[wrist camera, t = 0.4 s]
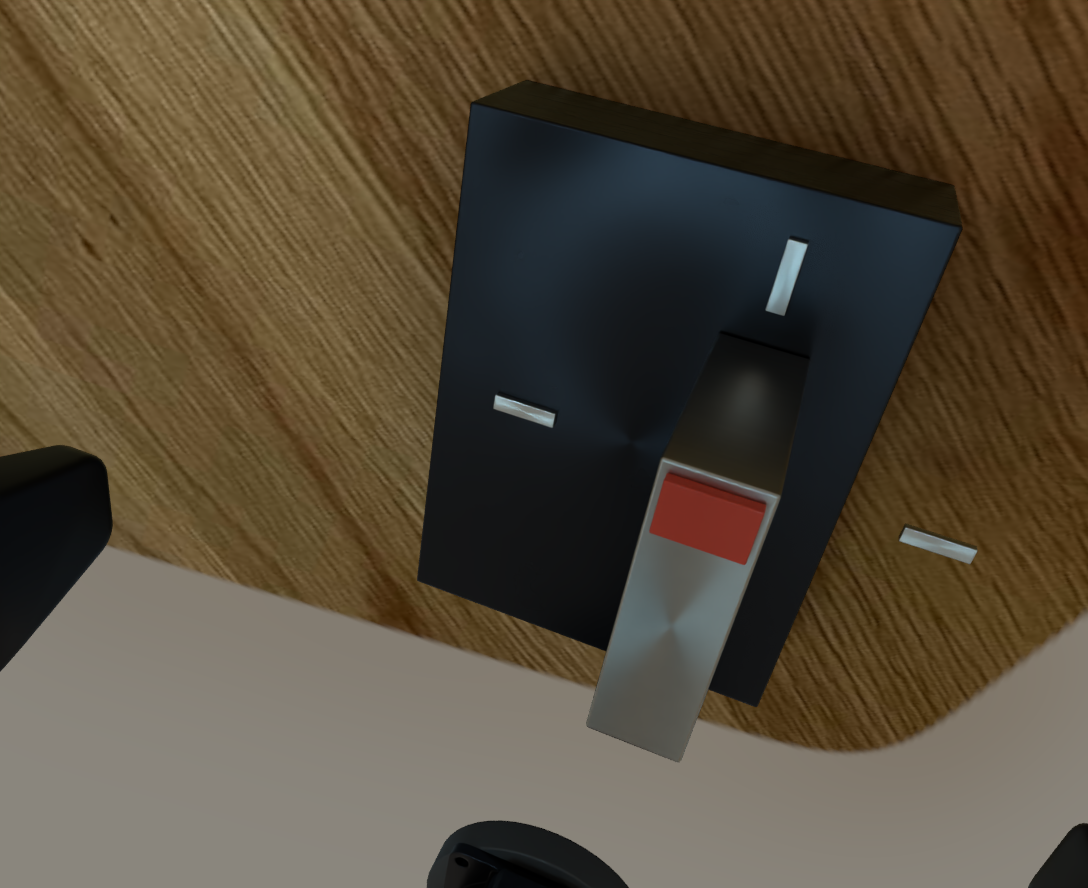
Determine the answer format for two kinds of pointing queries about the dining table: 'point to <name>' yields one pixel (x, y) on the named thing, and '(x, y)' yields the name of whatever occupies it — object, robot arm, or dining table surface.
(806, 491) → the console
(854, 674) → the dining table surface
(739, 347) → the dial
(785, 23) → the dining table surface
